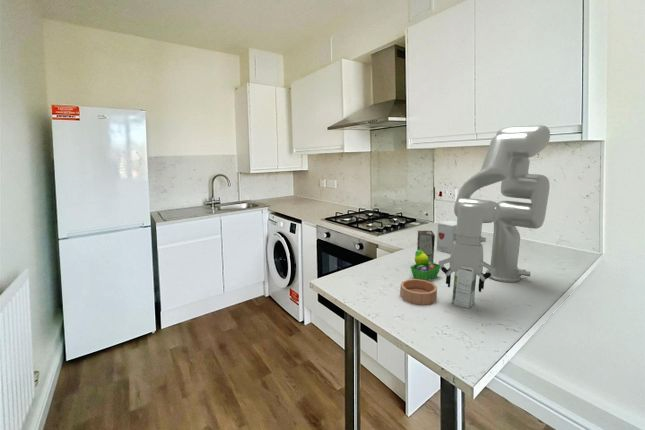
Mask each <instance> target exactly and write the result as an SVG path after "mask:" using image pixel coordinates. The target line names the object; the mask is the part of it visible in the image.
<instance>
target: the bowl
mask: <svg viewBox="0 0 645 430" xmlns="http://www.w3.org/2000/svg"><path fill="white" fill-rule="evenodd" d="M399 292H400V293H399V296H400V297H401V298H402V300H404V301H405V302H408V303H410V304H414V305H420V306H422V305H430V304H433V303H435V302H437V294H438V286H437V285H436V284H434V282H431V281H430V280H428V281H426V280H420V279H414V278H413V279H412V278H411V279H405V280H404V281H401V283H400V291H399Z"/></svg>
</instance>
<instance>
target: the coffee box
mask: <svg viewBox="0 0 645 430" xmlns="http://www.w3.org/2000/svg"><path fill="white" fill-rule="evenodd" d="M435 239H436V235H435V233H434V232H433V231H432V230H417V242H416V243H417V247H416V248H417V249H416V251H417V250H421V251H423V252H424V253H425V254H426V255H427V256H428V258H429V260H428V261H429V262H432V263H434V258H435V257H434V254H435Z"/></svg>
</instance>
